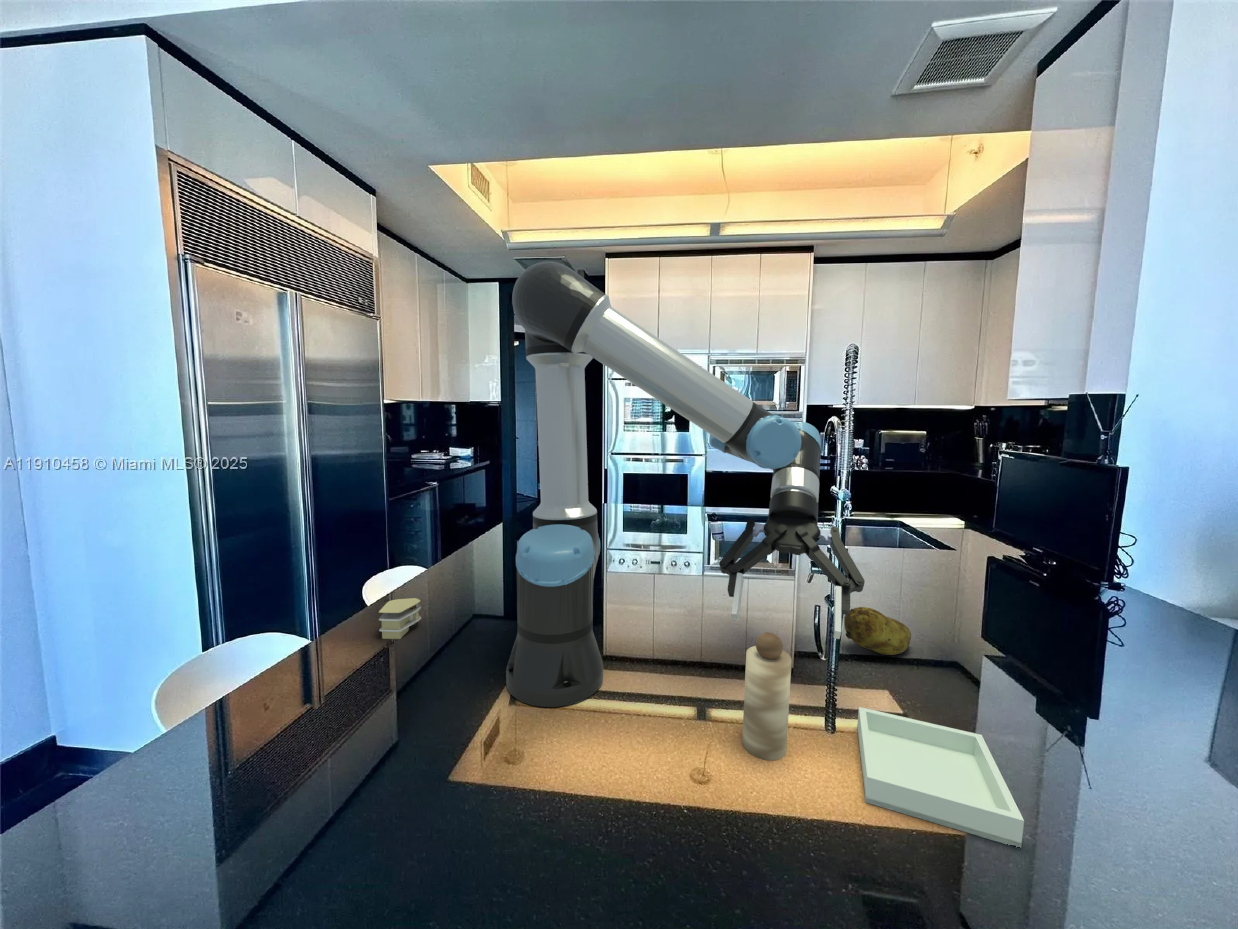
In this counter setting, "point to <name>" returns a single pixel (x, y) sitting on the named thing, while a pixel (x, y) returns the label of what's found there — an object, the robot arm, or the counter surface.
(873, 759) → the bin
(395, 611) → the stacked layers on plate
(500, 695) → the counter surface
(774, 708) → the pepper mill
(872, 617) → the potato
